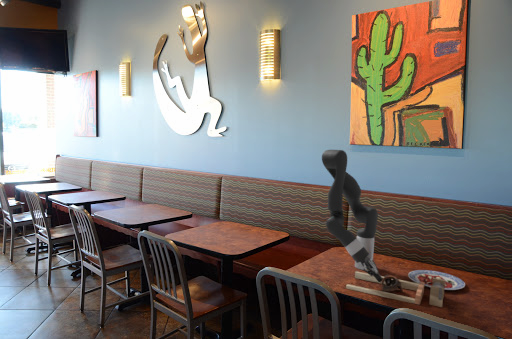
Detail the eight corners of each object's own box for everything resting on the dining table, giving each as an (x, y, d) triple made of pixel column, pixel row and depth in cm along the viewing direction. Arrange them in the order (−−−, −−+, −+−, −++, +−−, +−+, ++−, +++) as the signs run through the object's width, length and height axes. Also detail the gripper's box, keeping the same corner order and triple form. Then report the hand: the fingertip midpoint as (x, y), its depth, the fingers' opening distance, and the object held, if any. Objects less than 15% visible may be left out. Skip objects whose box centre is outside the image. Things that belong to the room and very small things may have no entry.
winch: (431, 294, 182) (433, 275, 181) (443, 297, 180) (445, 277, 179) (428, 306, 169) (430, 286, 168) (441, 309, 166) (443, 288, 165)
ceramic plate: (408, 287, 190) (408, 281, 190) (407, 271, 214) (408, 265, 214) (468, 297, 181) (469, 291, 181) (460, 279, 205) (461, 273, 205)
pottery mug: (408, 295, 181) (403, 282, 178) (389, 304, 181) (384, 291, 177) (394, 279, 192) (390, 267, 189) (377, 288, 192) (372, 275, 189)
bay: (355, 276, 201) (356, 269, 201) (423, 290, 186) (424, 282, 186) (346, 288, 185) (346, 280, 185) (419, 304, 170) (420, 295, 170)
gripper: (359, 249, 183) (385, 280, 179) (366, 243, 195) (390, 272, 191) (347, 258, 186) (372, 289, 182) (354, 251, 198) (378, 280, 193)
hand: (381, 280), depth 186 cm, fingers closed
